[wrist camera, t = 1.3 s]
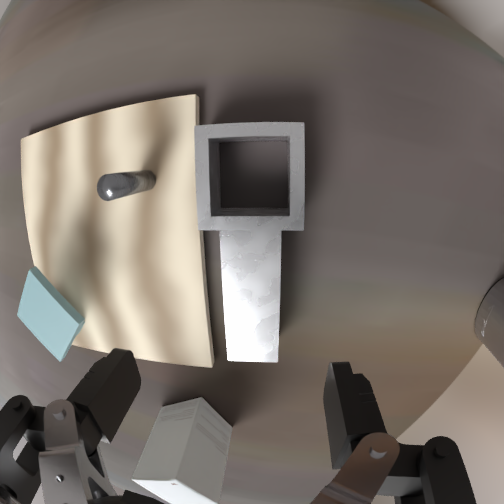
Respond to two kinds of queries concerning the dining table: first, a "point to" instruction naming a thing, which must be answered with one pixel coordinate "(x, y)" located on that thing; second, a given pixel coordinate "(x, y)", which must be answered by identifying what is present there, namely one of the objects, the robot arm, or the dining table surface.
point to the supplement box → (185, 454)
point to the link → (249, 236)
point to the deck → (123, 229)
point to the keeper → (49, 314)
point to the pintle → (125, 184)
